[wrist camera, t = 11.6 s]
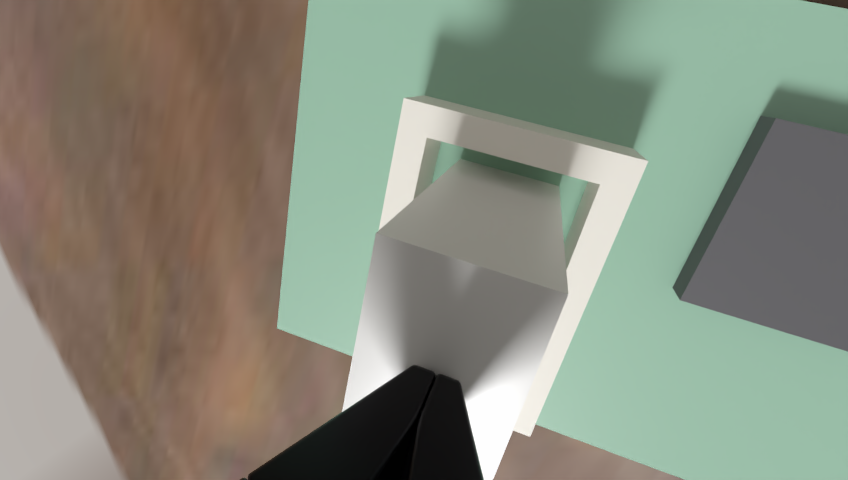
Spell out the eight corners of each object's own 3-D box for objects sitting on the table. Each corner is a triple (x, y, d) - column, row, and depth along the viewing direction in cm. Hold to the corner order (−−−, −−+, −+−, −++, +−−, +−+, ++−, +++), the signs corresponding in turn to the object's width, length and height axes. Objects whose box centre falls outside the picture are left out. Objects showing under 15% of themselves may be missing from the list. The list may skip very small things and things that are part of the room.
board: (1169, 82, 9) (1419, 82, 7) (808, 504, 15) (865, 598, 12) (333, -79, 13) (275, -122, 10) (290, 315, 18) (245, 357, 15)
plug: (558, 186, 13) (568, 294, 6) (502, 345, 15) (466, 544, 8) (460, 158, 13) (376, 233, 7) (420, 317, 15) (328, 484, 9)
